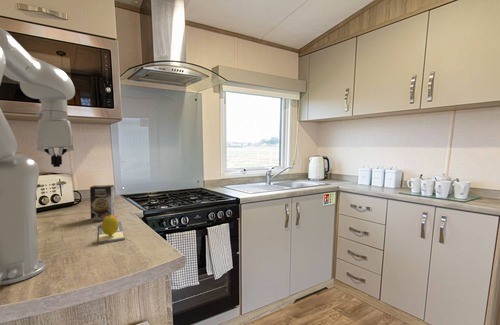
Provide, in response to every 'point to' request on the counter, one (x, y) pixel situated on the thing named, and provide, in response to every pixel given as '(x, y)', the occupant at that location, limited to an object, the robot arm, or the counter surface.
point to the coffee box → (101, 201)
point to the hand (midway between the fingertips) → (56, 166)
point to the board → (115, 237)
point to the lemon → (110, 225)
